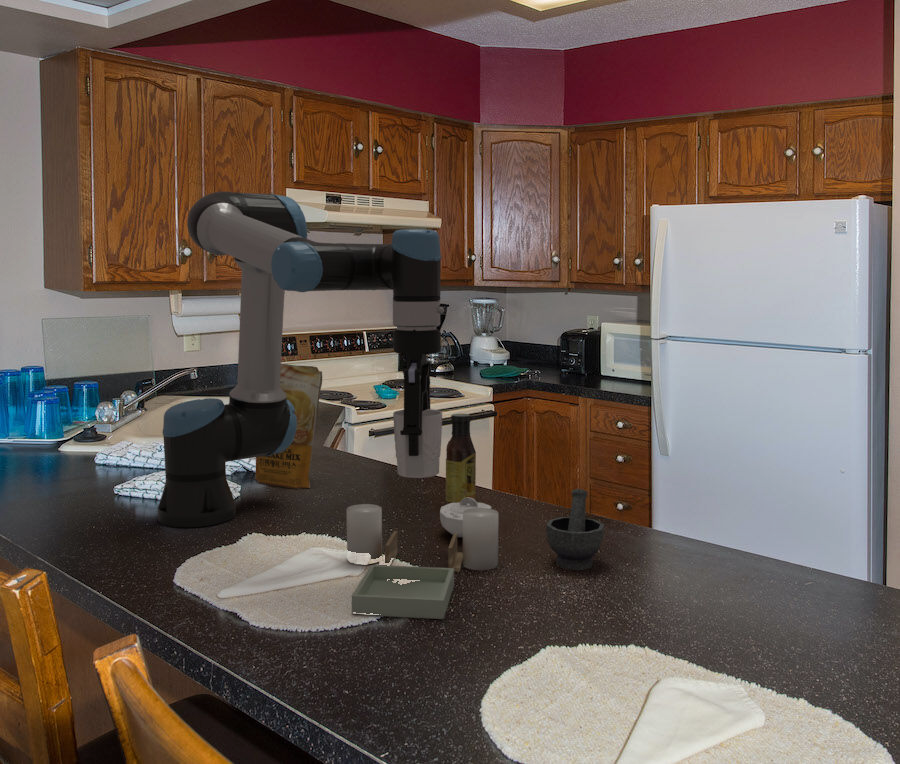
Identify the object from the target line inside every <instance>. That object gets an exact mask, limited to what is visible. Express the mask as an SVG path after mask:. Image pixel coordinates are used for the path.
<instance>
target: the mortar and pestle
mask: <svg viewBox="0 0 900 764" xmlns="http://www.w3.org/2000/svg"><path fill="white" fill-rule="evenodd" d="M571 496H572V500H571V506H570V512H569V513H570V514H569V516H560V517H556V518H551V519H549V520H548V521H547V523H546V526H545V527H546V529H545V530H546V531H545V533H546V539H547V540H546V541H547V543H548V545H549V547H550V549H551V550H552V551H553V552H554V553H555V554H556V555H557V557H556V561H555V562H556V563H555V564H556V565H557V566H558V567H560V568H562V569H566V570H569V571H570V570H572V571H579V570H580V571H585V570H587V569H590V568H592V566H593V564H594V561H593V557H594V555H596V554H597V553H598V551H599V549H600V547H601V545H602V543H603V538H604V533H605V524H604V523H603V522H601V521H599V520H597V519H595V518H594V519H593V518H589V517H588V518H587V517H586V510H587V509H586V505H587V504H586V503H587V500H586V499H587V498H588V491H587V490H585V489H582V488H576V489H573V490H571Z"/></svg>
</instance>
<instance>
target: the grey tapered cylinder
mask: <svg viewBox="0 0 900 764" xmlns="http://www.w3.org/2000/svg"><path fill="white" fill-rule="evenodd" d="M382 513H383V509H382V507H381V506H379V505H378V504H371V503H359V504H354V505H350V506H348V507H347V508H346V551H347V550H348V551H351V552H356V553H369V554H370V555H371V559H376V558H379V557H380V556H382V557H383V514H382Z"/></svg>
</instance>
